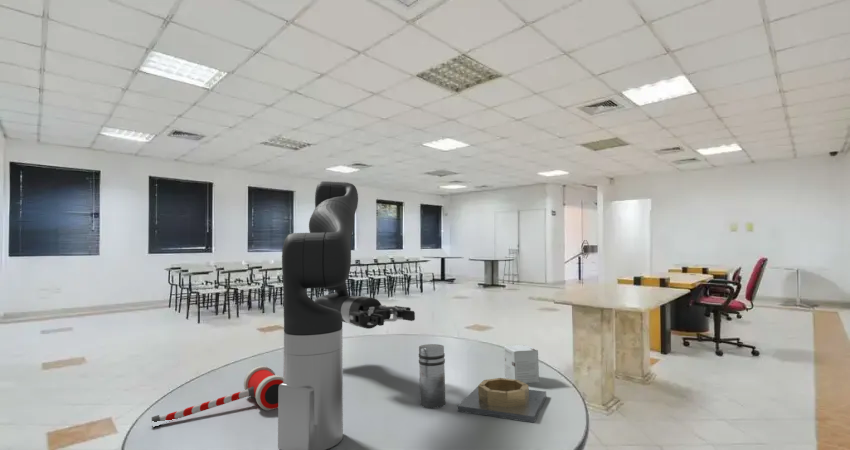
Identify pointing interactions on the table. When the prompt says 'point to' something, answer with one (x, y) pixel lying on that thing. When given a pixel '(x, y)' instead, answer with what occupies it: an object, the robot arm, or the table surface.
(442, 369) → the piston
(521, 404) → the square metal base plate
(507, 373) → the skincare box
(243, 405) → the table surface
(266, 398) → the toy hammer
